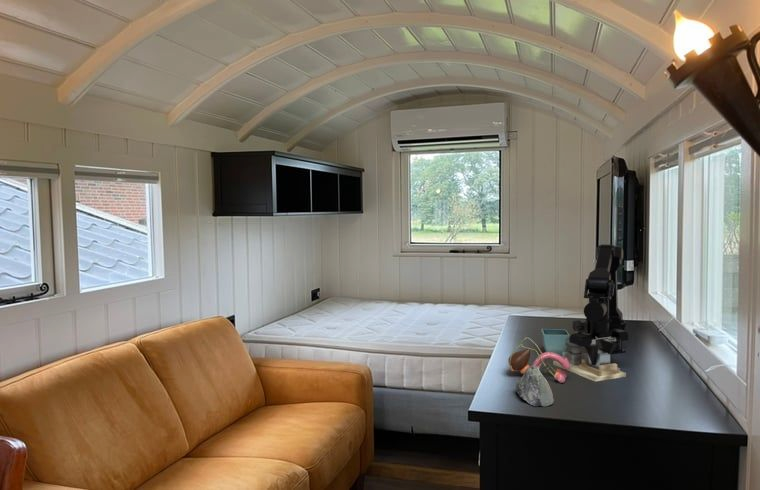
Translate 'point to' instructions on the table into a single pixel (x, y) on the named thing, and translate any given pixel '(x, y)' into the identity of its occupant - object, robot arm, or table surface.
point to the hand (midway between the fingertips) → (599, 363)
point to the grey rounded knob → (573, 347)
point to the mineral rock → (534, 388)
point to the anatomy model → (537, 361)
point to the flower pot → (555, 340)
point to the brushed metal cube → (601, 359)
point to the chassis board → (582, 368)
